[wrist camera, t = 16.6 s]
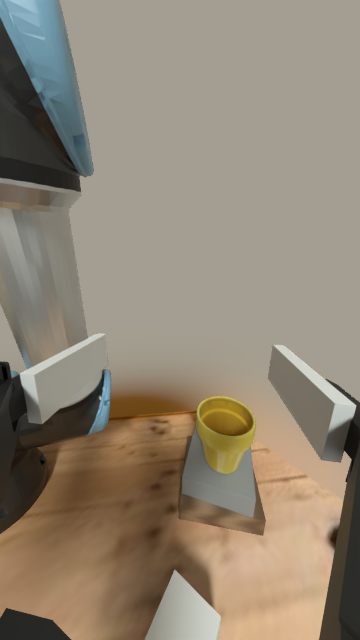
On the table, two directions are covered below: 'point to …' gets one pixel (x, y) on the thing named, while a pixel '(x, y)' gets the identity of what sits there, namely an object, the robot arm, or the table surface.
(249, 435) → the plant pot
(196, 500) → the walnut base slab
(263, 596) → the table surface
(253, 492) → the gray square slab
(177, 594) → the matte white cube
